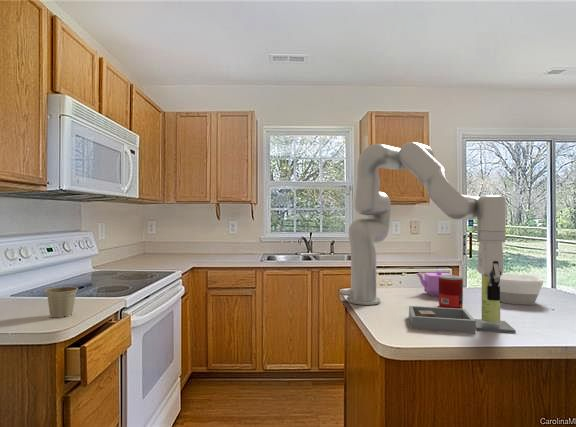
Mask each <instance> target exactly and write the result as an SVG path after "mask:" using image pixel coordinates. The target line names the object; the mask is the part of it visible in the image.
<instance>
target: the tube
mask: <svg viewBox="0 0 576 427" xmlns="http://www.w3.org/2000/svg"><path fill="white" fill-rule="evenodd" d="M490 275H494V274H490ZM491 281H492V278H491ZM487 286H489V283H488V274H487V276H484V275H482V274H481V319H482V320H483V321H486V322H491V323H498V322H500V321H501V301H500V300H499V301H497V300H488V299H487Z"/></svg>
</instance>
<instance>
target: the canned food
mask: <svg viewBox="0 0 576 427" xmlns="http://www.w3.org/2000/svg"><path fill="white" fill-rule="evenodd" d="M463 287H464V281H463V276H461V275H455V274H451V275H440V276H439V295H438V305H439V306H438V307H439V308H456V309H463V302H464V301H463V300H464V298H463V296H464V295H463V294H464V292H463V290H464V288H463Z"/></svg>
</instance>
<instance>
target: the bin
mask: <svg viewBox="0 0 576 427" xmlns="http://www.w3.org/2000/svg"><path fill="white" fill-rule="evenodd" d="M418 310H419V311H432V312H433V313H435V314H436V317H421V316H418ZM408 317H409V322H410V327H411V329H412V330H422V331H423V330H424V331H425V330H426V331H438V332H440V331H441V332H452V333H467V334H476V333H477V330H476V321H475V320H474V319H475V318H474V317H473V316H472V315H471V314H470V312H468V311H467V309H466V308H461V309H456V308H443V307H440V306H438V307H436V306H421V305H419V306H417V305H409V306H408Z"/></svg>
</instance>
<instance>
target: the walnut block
mask: <svg viewBox="0 0 576 427" xmlns="http://www.w3.org/2000/svg"><path fill="white" fill-rule="evenodd" d="M418 316H421V317H436V314H435V313H433V312H432V311H419V310H418Z"/></svg>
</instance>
